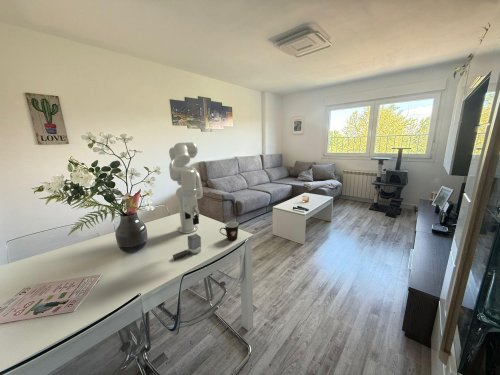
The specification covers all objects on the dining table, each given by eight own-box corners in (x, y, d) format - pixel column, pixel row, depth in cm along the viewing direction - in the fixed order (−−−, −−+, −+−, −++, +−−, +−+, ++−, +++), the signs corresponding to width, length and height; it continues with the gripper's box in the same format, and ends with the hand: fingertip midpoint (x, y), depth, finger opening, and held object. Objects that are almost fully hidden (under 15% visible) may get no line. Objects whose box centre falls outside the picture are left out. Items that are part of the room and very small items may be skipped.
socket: (187, 245, 119) (187, 236, 118) (196, 243, 122) (196, 233, 121) (192, 249, 115) (191, 239, 114) (200, 246, 118) (200, 237, 117)
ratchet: (171, 256, 114) (170, 245, 112) (197, 246, 124) (196, 236, 122) (176, 262, 109) (175, 250, 107) (203, 251, 119) (202, 240, 117)
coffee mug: (239, 235, 137) (239, 221, 134) (237, 242, 129) (237, 227, 126) (222, 235, 138) (222, 221, 136) (219, 241, 130) (218, 227, 127)
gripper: (176, 190, 114) (179, 218, 119) (190, 197, 102) (193, 228, 106) (188, 187, 119) (191, 214, 124) (203, 194, 107) (205, 224, 111)
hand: (192, 221), depth 115 cm, fingers open, 9 cm apart
